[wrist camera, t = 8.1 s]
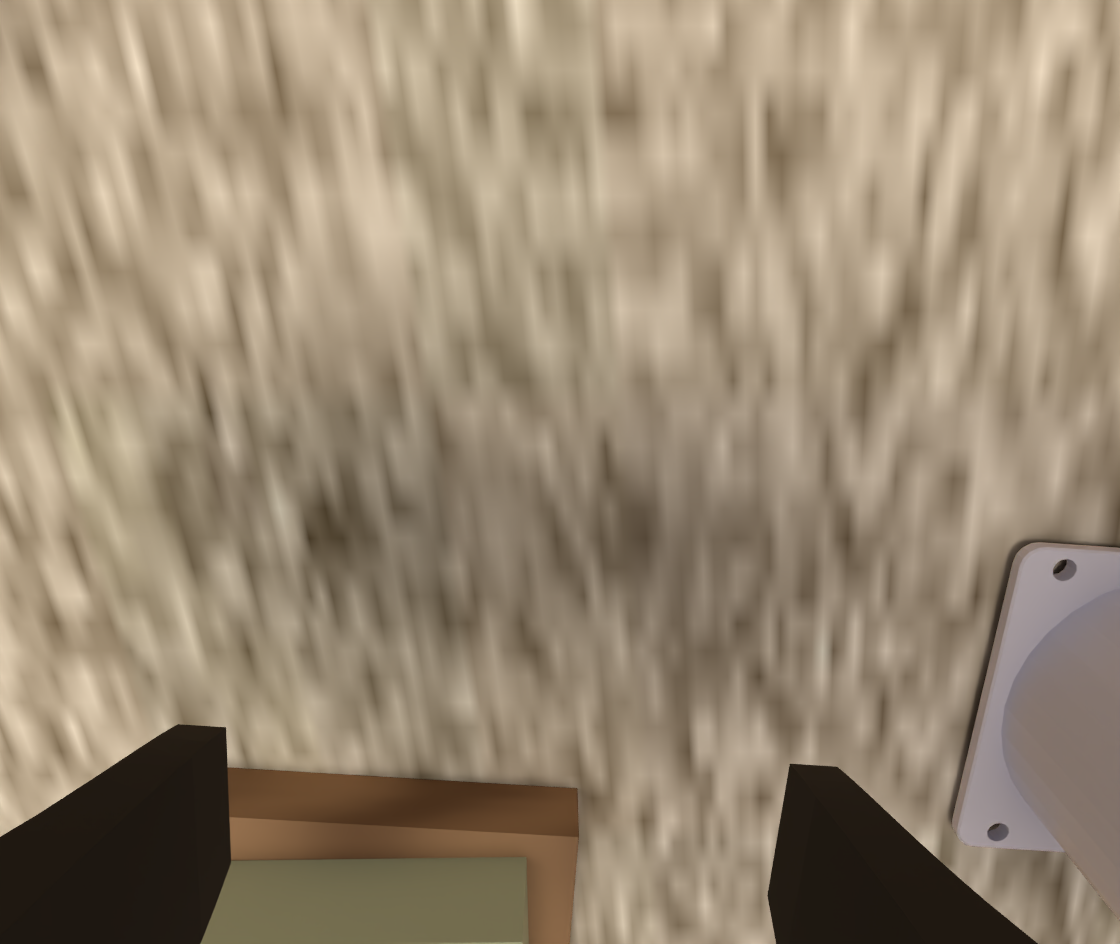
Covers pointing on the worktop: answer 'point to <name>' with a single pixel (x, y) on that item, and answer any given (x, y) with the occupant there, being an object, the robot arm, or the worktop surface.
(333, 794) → the walnut base block
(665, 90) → the worktop surface
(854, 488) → the worktop surface
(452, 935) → the sage top block
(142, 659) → the worktop surface
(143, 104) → the worktop surface
